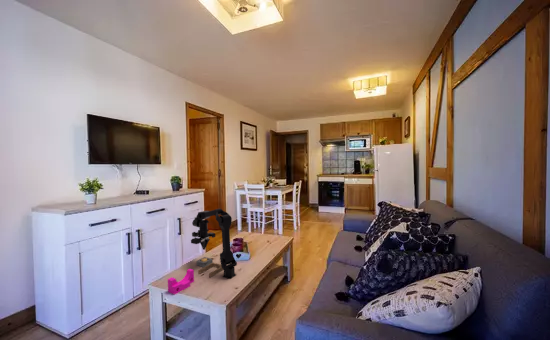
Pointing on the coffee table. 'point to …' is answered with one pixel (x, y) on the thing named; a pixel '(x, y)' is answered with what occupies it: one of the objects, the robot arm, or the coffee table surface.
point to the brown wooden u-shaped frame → (210, 267)
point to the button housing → (203, 264)
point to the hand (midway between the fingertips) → (204, 249)
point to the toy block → (180, 282)
